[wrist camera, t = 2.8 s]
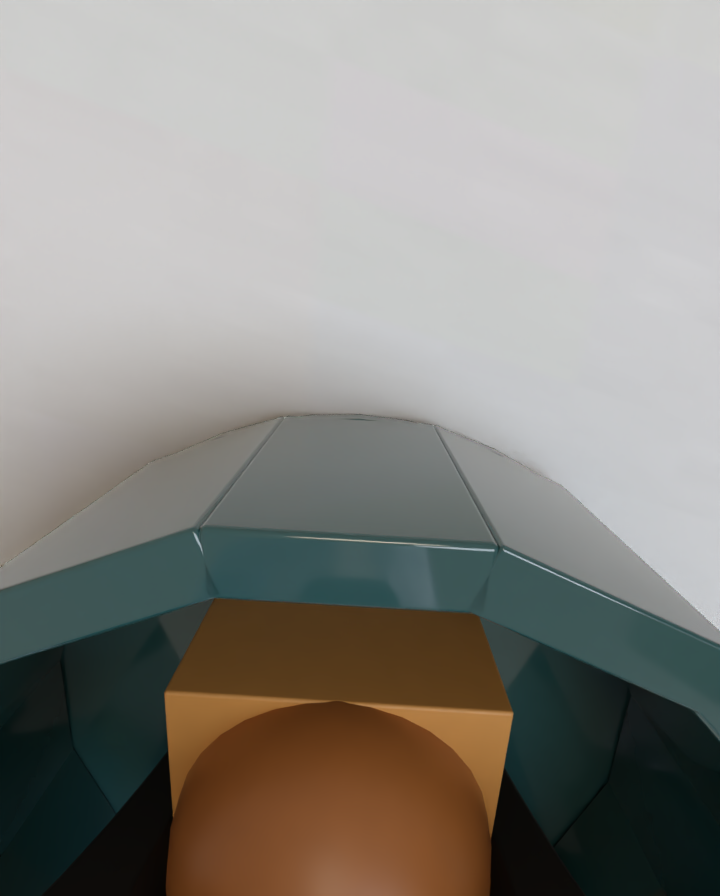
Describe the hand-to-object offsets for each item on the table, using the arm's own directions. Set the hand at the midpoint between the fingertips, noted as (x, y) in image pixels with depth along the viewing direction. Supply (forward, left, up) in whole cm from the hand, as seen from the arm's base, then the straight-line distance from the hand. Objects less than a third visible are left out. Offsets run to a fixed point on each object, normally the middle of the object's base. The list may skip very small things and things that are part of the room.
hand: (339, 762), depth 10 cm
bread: (0, 0, -1) cm, 1 cm away
